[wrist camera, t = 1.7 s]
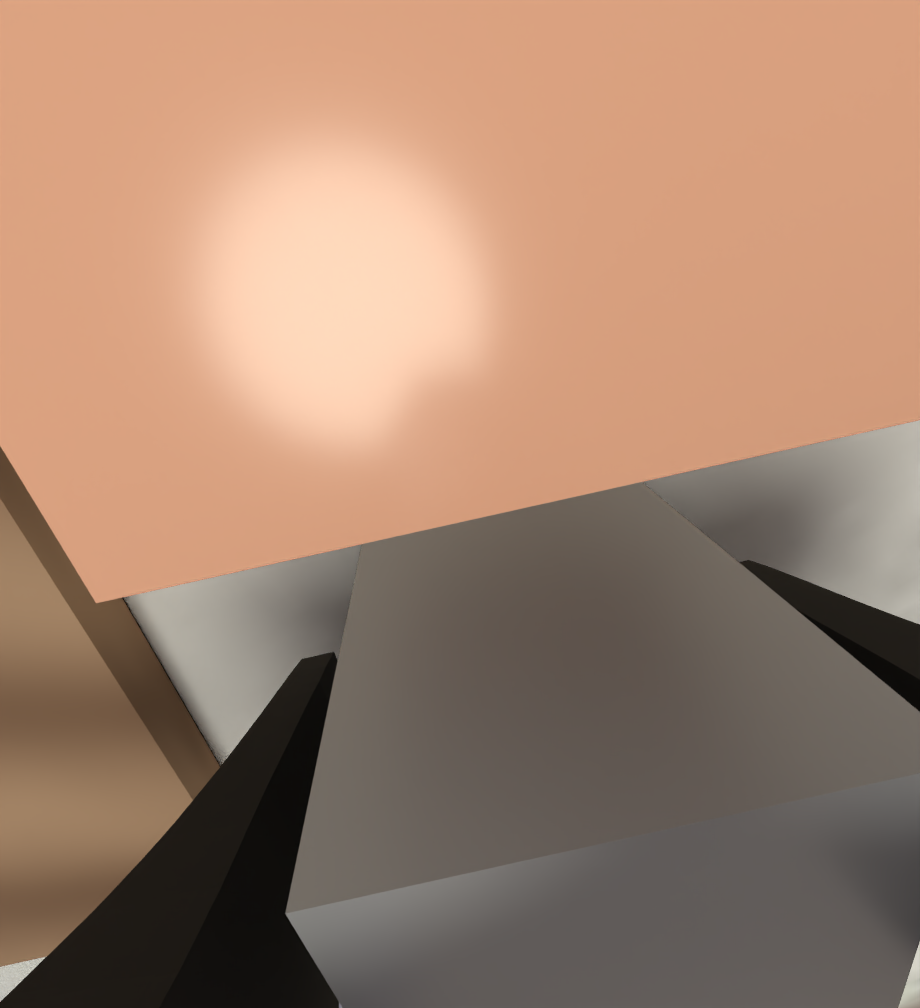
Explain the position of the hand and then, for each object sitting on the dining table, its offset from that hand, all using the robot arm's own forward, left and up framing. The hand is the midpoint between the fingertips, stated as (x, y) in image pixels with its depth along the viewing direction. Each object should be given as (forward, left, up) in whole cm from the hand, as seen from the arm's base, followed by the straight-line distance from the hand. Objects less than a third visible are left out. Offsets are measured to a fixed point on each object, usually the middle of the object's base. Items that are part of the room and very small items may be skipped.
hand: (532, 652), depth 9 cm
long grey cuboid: (0, 0, -2) cm, 2 cm away
